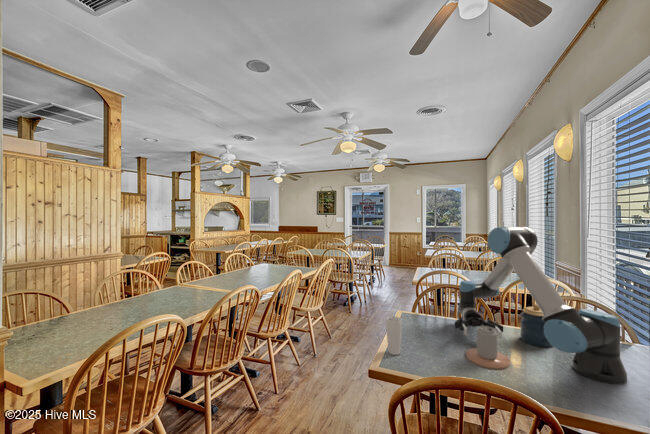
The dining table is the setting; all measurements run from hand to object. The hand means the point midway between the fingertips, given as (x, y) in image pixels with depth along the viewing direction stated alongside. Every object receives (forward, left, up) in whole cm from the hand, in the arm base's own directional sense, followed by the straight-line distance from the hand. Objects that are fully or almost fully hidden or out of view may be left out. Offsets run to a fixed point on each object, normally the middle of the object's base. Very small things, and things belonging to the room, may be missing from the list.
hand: (483, 333), depth 127 cm
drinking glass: (+15, +36, -9) cm, 40 cm away
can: (-4, +3, -8) cm, 9 cm away
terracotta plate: (-4, +3, -9) cm, 10 cm away
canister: (0, -33, -9) cm, 35 cm away
